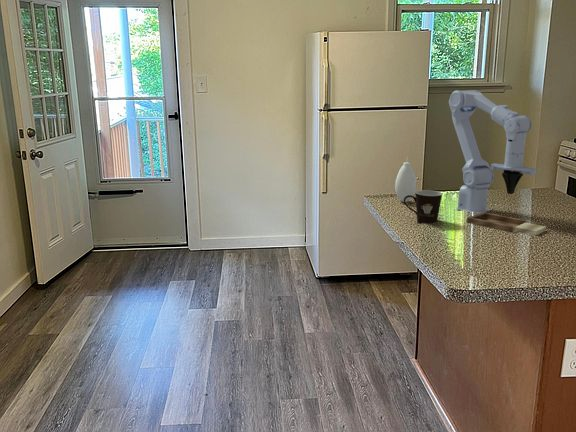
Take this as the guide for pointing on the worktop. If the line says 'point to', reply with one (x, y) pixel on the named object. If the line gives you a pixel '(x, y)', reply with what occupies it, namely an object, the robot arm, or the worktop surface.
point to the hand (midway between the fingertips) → (510, 193)
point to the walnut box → (495, 221)
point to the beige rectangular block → (530, 228)
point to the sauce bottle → (405, 182)
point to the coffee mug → (426, 205)
